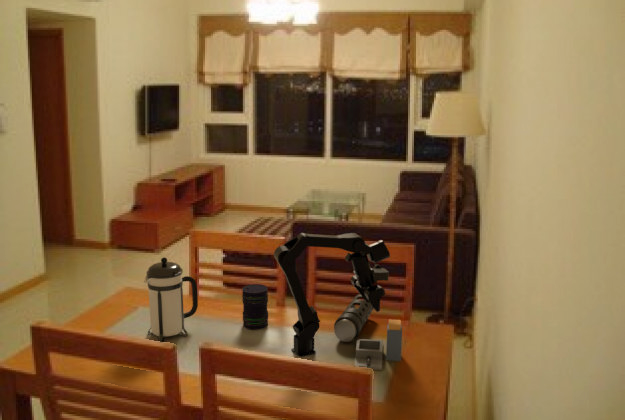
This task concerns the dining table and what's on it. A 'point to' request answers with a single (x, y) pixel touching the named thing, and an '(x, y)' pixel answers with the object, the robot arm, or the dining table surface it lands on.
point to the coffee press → (168, 298)
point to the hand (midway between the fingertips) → (373, 306)
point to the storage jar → (255, 306)
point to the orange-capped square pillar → (394, 340)
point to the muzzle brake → (352, 319)
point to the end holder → (369, 353)
